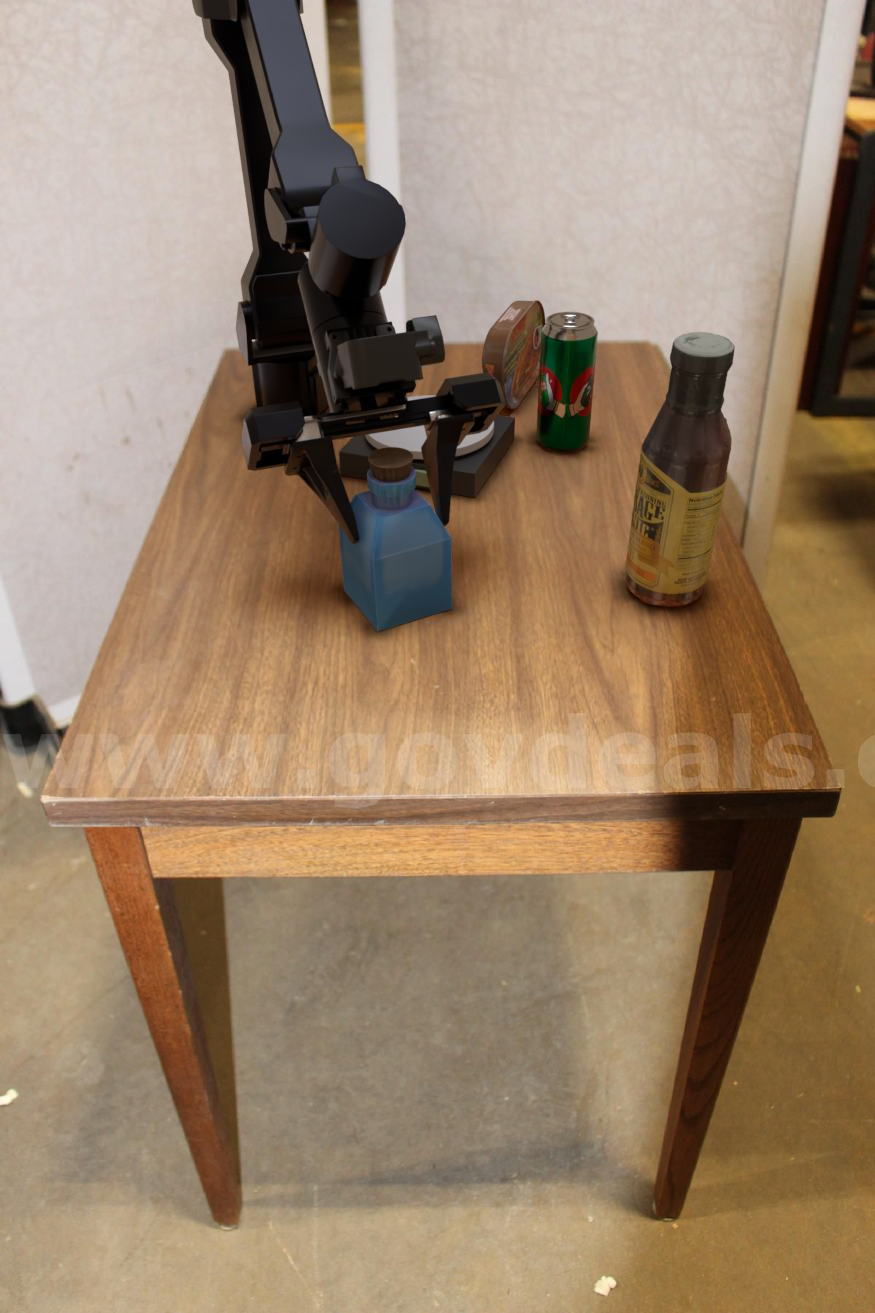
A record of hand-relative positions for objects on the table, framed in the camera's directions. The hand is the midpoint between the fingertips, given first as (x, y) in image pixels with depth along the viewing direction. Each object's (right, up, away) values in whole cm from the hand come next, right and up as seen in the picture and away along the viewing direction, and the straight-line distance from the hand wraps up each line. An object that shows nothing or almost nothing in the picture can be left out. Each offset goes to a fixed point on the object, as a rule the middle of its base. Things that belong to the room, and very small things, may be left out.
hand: (400, 533), depth 77 cm
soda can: (+15, +12, +26) cm, 32 cm away
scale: (+2, +10, +24) cm, 26 cm away
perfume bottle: (0, -5, +5) cm, 7 cm away
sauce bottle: (+20, -4, +6) cm, 21 cm away
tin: (+11, +19, +36) cm, 42 cm away
